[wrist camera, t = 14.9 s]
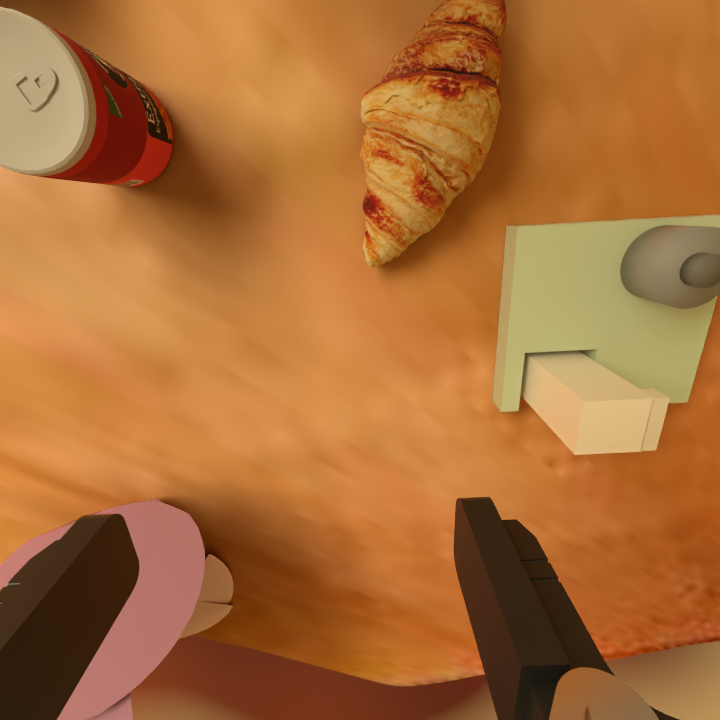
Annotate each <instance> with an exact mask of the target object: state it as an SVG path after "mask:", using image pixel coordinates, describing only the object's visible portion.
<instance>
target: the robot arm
mask: <svg viewBox="0 0 720 720" xmlns="http://www.w3.org/2000/svg"><path fill="white" fill-rule="evenodd" d="M454 559H455V566H456V571H457V575H458V579H459V583H460V586H461V590H462V593H463V597H464V601H465V604H466V608H467V611H468V615H469V618H470V622H471V625H472V629H473V633H474V636H475V640H476V643H477V647H478V650H479V654H480V657H481V661H482V665H483V668H484V672H485V675H486V679H487V682H488V686H489V689H490V693H491V697H492V700H493V704H494V707H495V711H496V714H497V718H498V720H679V719H676V718H673V717H671V716H668V715H666V714H664V713H662V712H660V711H658V710H655V709H654V708H652V707H651V706H649V705H648V704H647V703H646V702H645V701H644V699H643V698H642V697H641V696H640V695H639V694H638V693H637V692H636V691H635V690H634V689H632V688H631V687H630V686H629V685H627V684H626V683H625V682H623V681H622V680H620V679H618V678H617V677H616V676H615V675H614V674H613V673H612V672H611V670H610V669H609V667H608V666H607V664H606V663H605V661H604V659H603V658H602V656H601V654H600V652H599V650H598V649H597V647H596V645H595V643H594V641H593V640H592V638H591V636H590V634H589V632H588V631H587V629H586V627H585V625H584V623H583V622H582V620H581V618H580V616H579V614H578V613H577V611H576V609H575V607H574V605H573V604H572V602H571V600H570V598H569V596H568V595H567V593H566V591H565V589H564V587H563V586H562V584H561V582H559V581H558V577H557V575H556V573H555V571H554V569H553V568H552V566H551V564H550V563H548V559H547V557H546V555H545V553H544V551H543V550H542V548H541V546H540V544H539V542H538V541H537V539H536V537H535V536H534V535H533V534H532V533H531V532H529V531H528V530H527V529H526V528H525V527H524V526H523V525H522V524H521V523H520V522H519V521H517V520H501V518H500V516H499V514H498V511H497V509H496V507H495V505H494V503H493V501H492V500H491V498H490V497H476V498H458V499H457V501H456V511H455V531H454ZM138 576H139V559H138V556H137V553H136V550H135V547H134V544H133V542H132V539H131V536H130V533H129V530H128V527H127V524H126V521H125V519H124V517H123V516H122V515H121V514H98V515H85V516H82V517H81V518H79V519H78V520H77V521H76V522H75V523H74V524H73V525H72V526H71V528H70V529H69V530H68V531H67V532H66V533H65V534H64V535H63V536H62V537H61V539H60V540H56V541H54V542H53V543H51V544H50V545H49V546H47V547H46V548H45V549H43V550H42V551H40V552H39V553H38V554H36V555H35V556H34V557H32V558H31V559H29V560H28V562H27V563H26V564H25V565H24V566H23V567H22V568H21V569H20V570H19V571H18V572H17V573H16V574H15V575H14V576H13V577H12V578H11V580H10V581H9V582H8V585H7V587H3V588H2V589H1V590H0V720H57V719H58V717H59V715H60V714H61V712H62V710H63V708H64V707H65V705H66V703H67V702H68V700H69V698H70V697H71V695H72V693H73V692H74V690H75V688H76V686H77V685H78V683H79V681H80V680H81V678H82V676H83V675H84V673H85V671H86V670H87V668H88V666H89V664H90V663H91V661H92V659H93V658H94V656H95V654H96V653H97V651H98V649H99V648H100V646H101V644H102V642H103V641H104V639H105V637H106V636H107V634H108V632H109V631H110V629H111V627H112V626H113V624H114V622H115V620H116V619H117V617H118V615H119V614H120V612H121V610H122V609H123V607H124V605H125V603H126V602H127V600H128V598H129V597H130V595H131V593H132V592H133V590H134V588H135V586H136V583H137V580H138Z"/></svg>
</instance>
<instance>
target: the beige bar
mask: <svg viewBox="0 0 720 720" xmlns="http://www.w3.org/2000/svg"><path fill="white" fill-rule="evenodd" d="M520 395H521V396H522V397H523V399H524V400H525V401H526V402H527V403H528V404H529V405H530V406H531V407H532V408H533V410H534V411H535V412H536V413H537V414H538V415H539V416H540V417H541V418H542V419H543V421H544V422H545V423H546V424H547V425H548V426H549V427H550V428H551V429H552V430H553V432H554V433H555V434H556V435H557V436H558V437H559V438H560V439H561V440H562V441H563V443H564V444H565V445H566V446H567V447H568V448H569V449H570V450H571V451H572V452H573V454H574V455H584V454H604V453H623V452H641V451H652V450H656V449H657V445H658V441H659V438H660V434H661V430H662V426H663V422H664V419H665V415H666V411H667V407H668V403H669V400H670V398H669V397H668V396H666V395H664V394H662V393H661V392H659V391H657V390H656V389H654V388H650V389H639V388H637V387H636V386H634V385H633V384H631V383H629V382H628V381H626V380H624V379H623V378H621V377H620V376H618V375H616V374H615V373H613V372H611V371H610V370H608V369H607V368H605V367H603V366H602V365H600V364H598V363H597V362H595V361H594V360H592V359H590V358H589V357H587V356H586V355H584V354H582V353H581V352H579V351H577V350H572V351H553V352H534V353H525V357H524V366H523V375H522V384H521V393H520Z"/></svg>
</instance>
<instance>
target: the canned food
mask: <svg viewBox="0 0 720 720" xmlns="http://www.w3.org/2000/svg"><path fill="white" fill-rule="evenodd" d="M173 148H174V136H173V129H172V125H171V122H170V119H169V117H168V115H167V113H166V111H165V109H164V107H163V105H162V104H161V102H160V101H159V100H158V98H157V97H156V96H155V94H154V93H152V92H151V91H150V90H149V89H148V88H147V87H146V86H145V85H143V84H142V83H140V82H139V81H137V80H135V79H134V78H132V77H131V76H129V75H127V74H126V73H124V72H123V71H121V70H119V69H118V68H116V67H115V66H113V65H111V64H110V63H108V62H106V61H105V60H103V59H102V58H100V57H98V56H97V55H95V54H94V53H92V52H90V51H89V50H87V49H86V48H84V47H82V46H81V45H79V44H77V43H76V42H74V41H73V40H71V39H69V38H68V37H66V36H65V35H63V34H61V33H60V32H58V31H57V30H55V29H53V28H51V27H49V26H48V25H46V24H44V23H43V22H41V21H39V20H37V19H35V18H33V17H30V16H28V15H26V14H23V13H21V12H19V11H16V10H14V9H9V8H4V7H0V166H1V167H4V168H6V169H9V170H12V171H14V172H19V173H22V174H27V175H33V176H40V177H47V178H54V179H63V180H72V181H81V182H89V183H98V184H107V185H116V186H125V187H131V186H139V185H143V184H146V183H148V182H150V181H152V180H154V179H155V178H157V177H158V176H159V175H160V174H161V173H163V171H164V170H165V169H166V167H167V166H168V164H169V162H170V160H171V157H172V153H173Z"/></svg>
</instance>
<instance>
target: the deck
mask: <svg viewBox="0 0 720 720" xmlns="http://www.w3.org/2000/svg"><path fill="white" fill-rule="evenodd" d="M719 294H720V214H714V215H696V216H678V217H659V218H641V219H623V220H605V221H587V222H568V223H550V224H532V225H514V226H506V237H505V249H504V262H503V274H502V287H501V299H500V312H499V324H498V337H497V349H496V362H495V374H494V387H493V399H492V400H493V402H494V403H495V404H496V406H497V407H498V409H499V410H500V411H501V412H510V411H519V403H520V393H521V384H522V375H523V366H524V357H525V353H534V352H553V351H572V350H581V351H580V352H581V353H582V354H584V355H586V356H587V357H589V358H590V359H592V360H594V361H595V362H597V363H598V364H600V365H602V366H603V367H605V368H607V369H608V370H610V371H611V372H613V373H615V374H616V375H618V376H620V377H621V378H623V379H624V380H626V381H628V382H629V383H631V384H633V385H634V386H636V387H637V388H639V389H650V388H654V389H656V390H657V391H659V392H661V393H662V394H664V395H666V396H668V397H669V398H670V400H669V403H687V402H688V399H689V396H690V392H691V389H692V385H693V382H694V378H695V375H696V371H697V368H698V364H699V361H700V357H701V354H702V350H703V347H704V343H705V340H706V336H707V333H708V329H709V326H710V322H711V318H712V315H713V311H714V308H715V304H716V301H717V297H718V295H719Z"/></svg>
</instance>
